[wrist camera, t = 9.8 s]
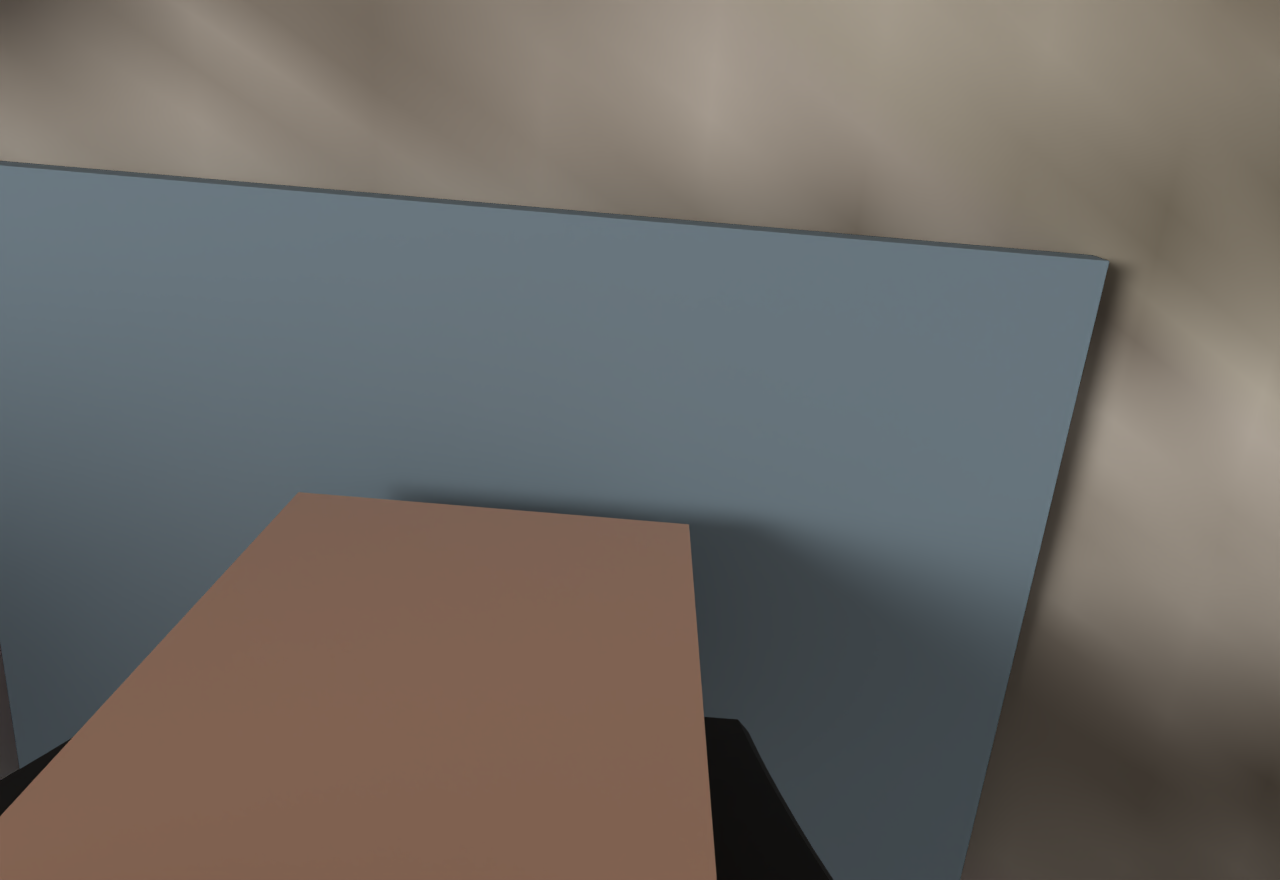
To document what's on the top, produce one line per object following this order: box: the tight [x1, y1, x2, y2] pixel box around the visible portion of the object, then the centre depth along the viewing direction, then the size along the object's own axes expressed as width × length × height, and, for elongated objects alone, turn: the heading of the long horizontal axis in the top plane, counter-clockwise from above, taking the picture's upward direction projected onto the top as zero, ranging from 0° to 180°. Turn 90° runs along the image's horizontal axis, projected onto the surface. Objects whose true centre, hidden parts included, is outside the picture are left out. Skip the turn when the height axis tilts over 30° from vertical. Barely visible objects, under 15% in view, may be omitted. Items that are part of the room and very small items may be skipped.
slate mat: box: [0, 161, 1109, 880], centre depth 12 cm, size 12×10×1 cm
